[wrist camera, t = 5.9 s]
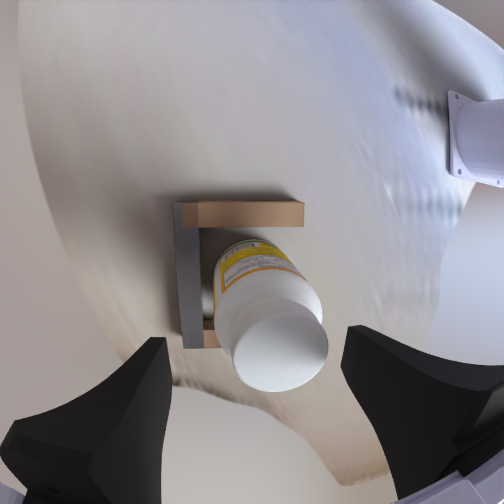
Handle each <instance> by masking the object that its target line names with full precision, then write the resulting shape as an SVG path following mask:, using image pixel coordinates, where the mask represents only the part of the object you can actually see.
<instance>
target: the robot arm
mask: <svg viewBox="0 0 504 504" xmlns="http://www.w3.org/2000/svg"><path fill="white" fill-rule="evenodd" d="M448 105H449V120H450V172H451V175H452V176H454V177H459V178H463V179H468V180H472V181H476V182H481V183H485V184H489V185H493V186H496V187H500V188H503V187H504V99H497V100H489V101H481V102H476V101H474V100H472V99H470V98H468V97H466V96H464V95H462V94H459V93H457V92H455V91H453V90H450V91H448ZM458 171H459V172H458ZM341 369H342V372H343V374H344V377H345V379H346V381H347V384H348V386H349V387H350V389H351V391H352V393H353V394H354V396H355V398H356V399H357V401H358V402H359V404H360V406H361V407H362V409H363V411H364V412H365V414H366V415H367V417H368V419H369V420H370V422H371V424H372V426H373V428H374V430H375V432H376V434H377V436H378V439H379V441H380V443H381V446H382V448H383V451H384V454H385V456H386V459H387V462H388V465H389V468H390V471H391V474H392V477H393V481H394V484H395V489H396V493H397V497H398V501H396V502H394V503H391V504H502V502H504V365H501V366H499V365H496V366H487V365H476V364H468V363H462V362H457V361H451V360H447V359H443V358H440V357H436V356H433V355H430V354H427V353H424V352H422V351H419V350H417V349H414V348H412V347H409V346H407V345H405V344H402V343H400V342H398V341H396V340H394V339H392V338H390V337H388V336H385V335H383V334H381V333H379V332H377V331H375V330H373V329H370V328H368V327H366V326H363V325H357V326H349V327H348V330H347V336H346V341H345V346H344V352H343V356H342V361H341ZM172 379H173V378H172V373H171V367H170V361H169V355H168V348H167V341H166V337H150V338H149V339H148V340H147V341H146V342H145V343H144V344H143V345H142V346H141V347H140V348H139V349H138V350H137V351H136V352H135V353H134V354H133V355H132V356H131V357H130V358H129V359H128V360H127V361H126V362H125V363H124V364H123V365H122V366H121V367H120V368H118V369H117V370H116V371H115V372H114V373H113V374H111V375H110V376H109V377H108V378H107V379H105V380H104V381H103V382H101V383H100V384H99V385H97V386H96V387H94V388H93V389H91V390H90V391H88V392H86V393H85V394H83V395H81V396H79V397H77V398H75V399H74V400H72V401H70V402H68V403H66V404H64V405H62V406H59V407H57V408H55V409H52V410H49V411H47V412H44V413H41V414H38V415H34V416H31V417H27V418H23V419H19V420H15V421H14V423H13V424H12V426H11V428H10V429H9V431H8V433H7V435H6V437H5V438H4V440H3V442H2V444H1V446H0V456H1V458H2V461H3V462H4V463H5V465H6V466H7V467H8V469H9V470H10V471H11V472H12V473H13V474H14V475H15V477H16V478H18V480H19V481H20V482H21V483H22V484H23V485H24V486H25V487H26V488H27V489H28V490H27V493H26V496H24V495H23V494H21V493H20V492H18V491H16V490H14V489H12V488H10V487H8V486H6V485H4V484H2V483H0V504H161V463H162V449H163V442H164V436H165V431H166V425H167V419H168V415H169V409H170V404H171V396H172Z"/></svg>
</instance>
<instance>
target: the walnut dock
mask: <svg viewBox="0 0 504 504" xmlns="http://www.w3.org/2000/svg"><path fill="white" fill-rule="evenodd" d="M304 204H305V203H303V202H300V201H285V200H210V201H176V202H175V203H173V214H174V240H175V259H176V274H177V288H178V300H179V311H180V321H181V330H182V339H183V348H184V349H198V348H222V347H221V345H220V343H219V341H218V339H217V336H216V333H215V327H214V320H204V317H203V300H202V280H201V255H200V228H212V227H304Z"/></svg>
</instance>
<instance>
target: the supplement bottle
mask: <svg viewBox="0 0 504 504" xmlns="http://www.w3.org/2000/svg"><path fill="white" fill-rule="evenodd" d="M213 283H214V284H213V288H214V327H215V333H216V336H217V339H218V341H219V343H220V345H221V347H222V348H223V350H224V351H225V352H226V353H227V354H228V355H229V356H230V357H231V358H232V362H233V367H234V369H235V371H236V373H237V375H238V376H239V378H240V379H241V380H242V381H243V382H245V383H246V384H247V385H249V386H251V387H253V388H255V389H258V390H261V391H267V392H280V391H286V390H290V389H293V388H296V387H298V386H300V385H302V384H304V383H306V382H307V381H309V380H310V379H311V378H312V377H314V376H315V375H316V374H317V373H318V371H319V370H320V369H321V367H322V366H323V364H324V362H325V360H326V357H327V353H328V339H327V335H326V333H325V331H324V329H323V327H322V325H321V324H322V309H321V304H320V301H319V298H318V296H317V294H316V292H315V291H314V289H313V288H312V287H311V285H310V284H309V283H308V281H307V280H306V279H305V278H304V277H303V275H302V274H301V273H300V272H299V271H298V270H297V269H296V267H295V266H294V265H293V264H292V263H291V261H290V260H289V259H288V258H287V257H286V255H285V254H284V253H283V252H282V251H281V250H280V249H279V248H278V247H276V246H275V245H273V244H271V243H269V242H267V241H263V240H256V239H251V240H244V241H241V242H238V243H236V244H234V245H232V246H231V247H229V248H228V249H227V250H225V252H224V253H223V254H222V255H221V256H220V258H219V259H218V261H217V263H216V266H215V270H214V278H213Z"/></svg>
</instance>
